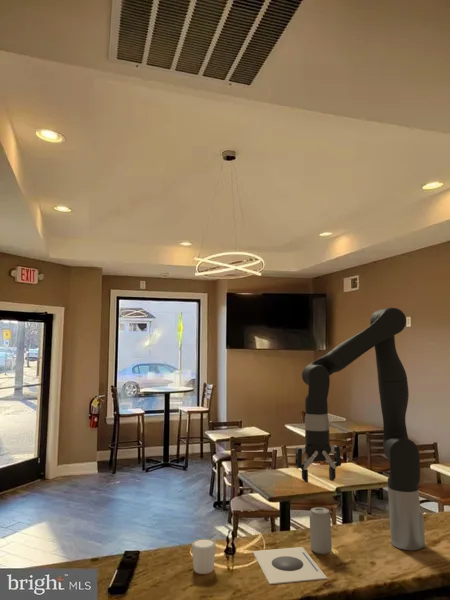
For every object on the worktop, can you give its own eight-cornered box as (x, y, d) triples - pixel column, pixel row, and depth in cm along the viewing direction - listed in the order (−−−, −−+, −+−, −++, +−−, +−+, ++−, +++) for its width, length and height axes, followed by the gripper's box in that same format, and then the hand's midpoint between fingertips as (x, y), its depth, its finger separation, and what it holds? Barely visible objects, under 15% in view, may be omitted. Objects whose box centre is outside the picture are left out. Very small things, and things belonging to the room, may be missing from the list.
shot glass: (197, 577, 122) (197, 549, 123) (187, 566, 128) (187, 540, 129) (220, 571, 125) (219, 544, 126) (209, 561, 131) (209, 536, 132)
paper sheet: (302, 547, 140) (302, 546, 140) (327, 578, 120) (327, 577, 120) (252, 552, 137) (252, 550, 137) (269, 584, 118) (269, 582, 118)
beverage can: (330, 546, 140) (328, 506, 142) (333, 555, 134) (331, 513, 136) (309, 546, 141) (308, 506, 143) (311, 555, 135) (310, 513, 136)
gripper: (333, 425, 147) (335, 476, 145) (291, 426, 145) (293, 479, 143) (343, 429, 140) (345, 483, 138) (299, 430, 137) (301, 485, 135)
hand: (318, 481), depth 140 cm, fingers open, 8 cm apart
